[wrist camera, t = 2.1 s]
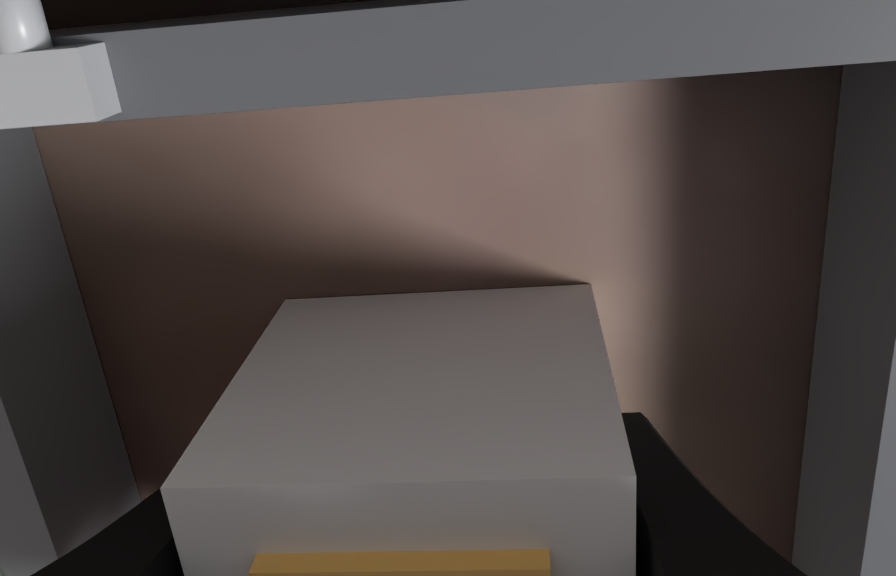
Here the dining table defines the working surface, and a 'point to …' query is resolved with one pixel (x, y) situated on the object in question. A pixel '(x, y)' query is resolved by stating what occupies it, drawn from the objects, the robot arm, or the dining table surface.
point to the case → (424, 75)
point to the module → (414, 443)
